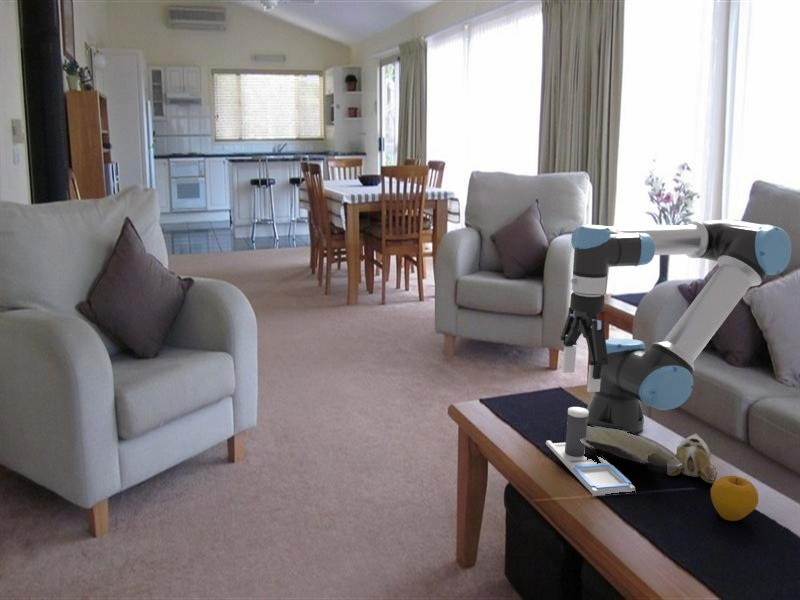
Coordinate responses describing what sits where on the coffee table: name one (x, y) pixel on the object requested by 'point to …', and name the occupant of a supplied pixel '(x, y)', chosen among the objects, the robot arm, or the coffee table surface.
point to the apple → (734, 497)
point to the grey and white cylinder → (576, 431)
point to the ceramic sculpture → (694, 459)
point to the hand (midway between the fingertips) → (580, 381)
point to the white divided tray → (593, 472)
